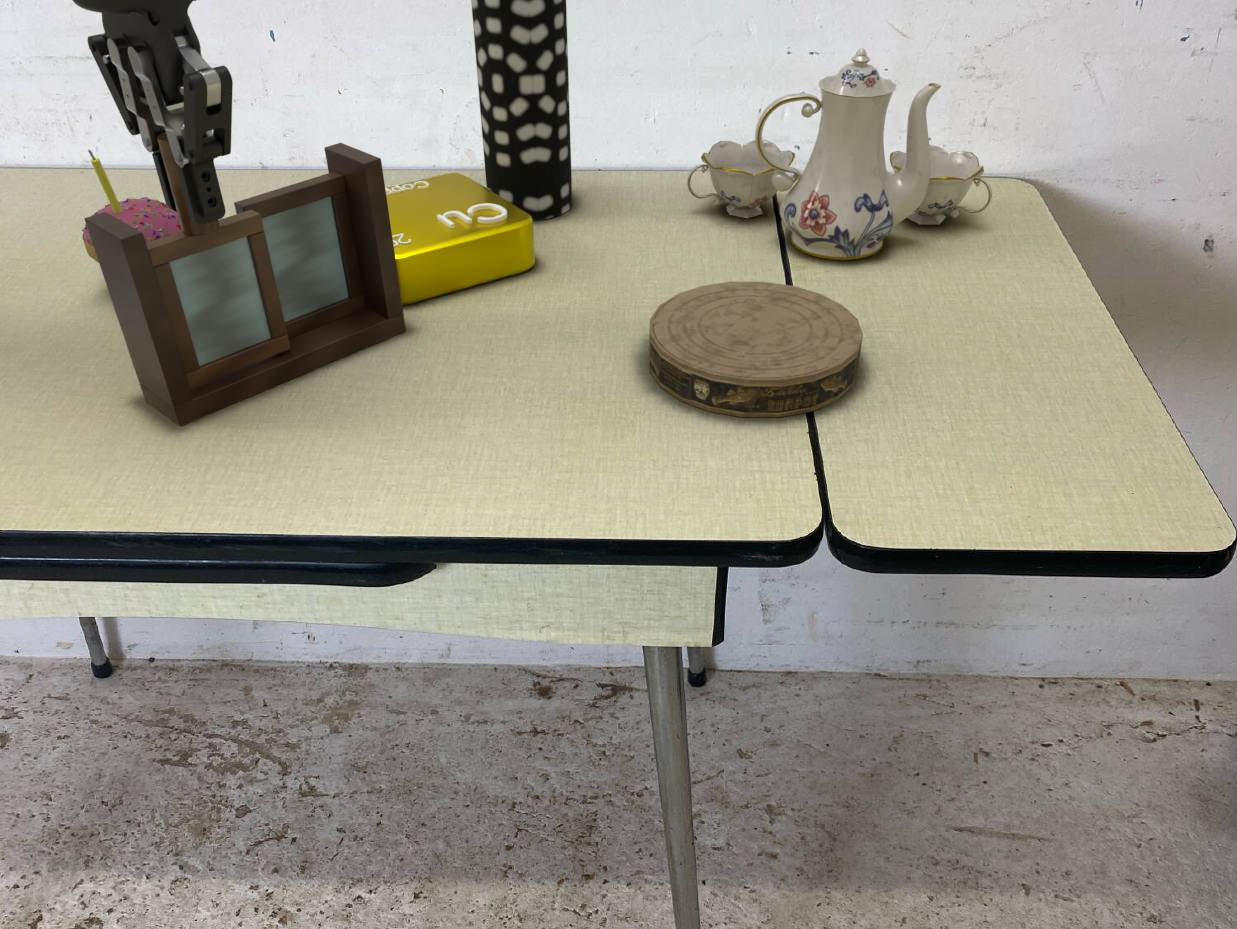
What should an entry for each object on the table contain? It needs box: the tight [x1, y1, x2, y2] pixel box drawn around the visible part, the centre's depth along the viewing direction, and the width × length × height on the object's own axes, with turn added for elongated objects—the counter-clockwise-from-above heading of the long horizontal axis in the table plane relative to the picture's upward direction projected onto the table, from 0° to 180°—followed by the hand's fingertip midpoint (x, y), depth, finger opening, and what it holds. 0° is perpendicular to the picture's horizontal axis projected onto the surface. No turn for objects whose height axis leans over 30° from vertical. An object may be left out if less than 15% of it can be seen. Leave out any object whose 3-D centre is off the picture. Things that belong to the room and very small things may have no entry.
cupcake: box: [81, 149, 182, 264], centre depth 89 cm, size 9×8×12 cm
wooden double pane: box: [84, 142, 407, 427], centre depth 79 cm, size 20×5×14 cm, turn 136°
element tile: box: [385, 172, 536, 306], centre depth 96 cm, size 15×15×5 cm
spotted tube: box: [470, 0, 573, 221], centre depth 100 cm, size 8×8×20 cm
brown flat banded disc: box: [648, 281, 864, 418], centre depth 82 cm, size 16×16×3 cm
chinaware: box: [686, 47, 993, 261], centre depth 97 cm, size 28×17×17 cm, turn 89°
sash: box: [146, 130, 290, 389], centre depth 74 cm, size 8×2×16 cm, turn 136°
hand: (197, 212), depth 72 cm, fingers closed on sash, 2 cm apart
